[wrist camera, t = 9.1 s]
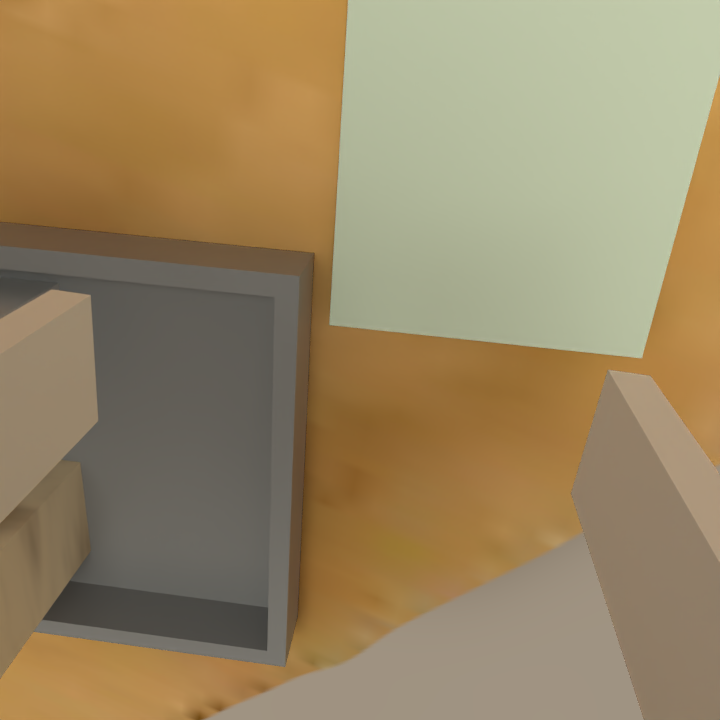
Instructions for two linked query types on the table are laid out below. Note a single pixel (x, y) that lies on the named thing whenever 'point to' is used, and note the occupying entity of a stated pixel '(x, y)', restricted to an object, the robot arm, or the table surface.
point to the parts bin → (185, 439)
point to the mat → (517, 165)
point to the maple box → (40, 554)
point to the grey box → (21, 293)
